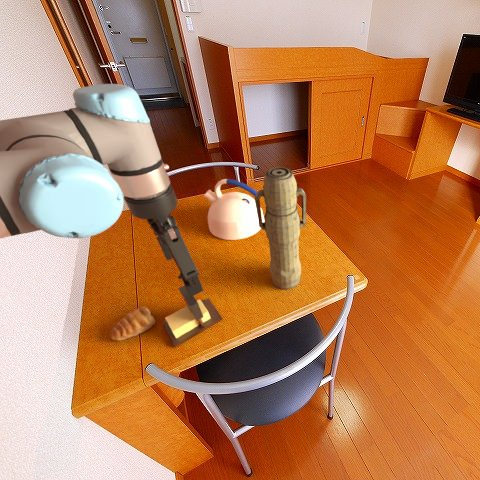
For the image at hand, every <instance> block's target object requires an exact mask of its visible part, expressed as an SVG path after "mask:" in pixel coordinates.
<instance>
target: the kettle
mask: <svg viewBox="0 0 480 480" xmlns="http://www.w3.org/2000/svg"><path fill="white" fill-rule="evenodd" d="M225 184H227V185H232V186H235V187H238V188H241V189H243V190H245V191H246V192H248V193H250V194H251V195H252V196H253V197H255V196H256V194H257V193H258V191H257V190H256V189H255V188H253V187H251V186H249V185H248V184H247V183H244V182H242V181H238V180H235V179H232V178H231V179H230V178H224V179H223V178H222V179H221V180H219V181H217V183H216V184H215V185H214V192H213V191H212V190H211V189H208V190H206V192H205V193H204V195H203V197H204V198H205V199H206V200H207V201H209V202H210V203H211V205H210V206H209V208H208V213H207V224H208V230H209V232H210V233H211V234H212V235H213V236H214V237H217V238H218V239H222V240H226V241H227V240H228V241H236V240H243V239H246V238H249V237H252V236H254V235H255V234H257V233H259V231H261V230H262V229H261V228H260V227H259V220H258V215H257V209H256V204H255V198H253V197H252V196H251V195H249V194H246V193H244V192H240V191H231V192H226V193H223V194H222V191H221V186H222V185H225ZM261 215H262V222H265V221H264V217H265V215H264V212H263V209H262V208H261Z"/></svg>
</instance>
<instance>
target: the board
mask: <svg viewBox="0 0 480 480" xmlns="http://www.w3.org/2000/svg"><path fill="white" fill-rule="evenodd" d="M201 302H202V303H203V305H204V306H205V308H206V309H207V311H208V313H209V315H210V318H211V319H209V320H207V321H205V322H204V323H203V324H204V326H203V327H202V325H201V324H200V325H198V326H197V327H195V328H193V329H192V330H190V331H188V332H186V333H185V334H183V335H181V336H180V337H178V338H176V337H175V336H174V334H173V332H172V330H171V328H170V326H169V324H168V323H167V321H166V320H165V321H164V322H162V324H163V326H164V328H165V330H166V332H167V334H168V337H169V338H170V340H171V342H172V344H173V346H174V348H177V347H179V346H181V345H182V344H184V343H186V342H188V341H189V340H191V339H192V338H194V337H196V336H197V335H199V334H200V333H202V332H204V331H206V330H207V329H209V328H211V327H212V326H214V325H216V324H218V323H219V322H221V321H222V320H223V317H222V315H221V314H220V312H219V311H218V309H217V308H216V307H215V305H214V304H213V302H212V301H211V300H210V298H209V297H208V298H206V299H205V300H201ZM199 323H200V322H199Z"/></svg>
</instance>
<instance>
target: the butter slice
mask: <svg viewBox="0 0 480 480" xmlns="http://www.w3.org/2000/svg"><path fill="white" fill-rule="evenodd" d="M196 301H197V302H198V304H199V307H200V309H201V312H202V314H203V316H204V317H203V318H201V319H202V322H203V323H204V322H205V321H207V320H209V319H211V318H210V315H209V313H208V311H207V309H206V308H205V306H204V305H203V303H202V300H201V299H200V298H199V299H196Z"/></svg>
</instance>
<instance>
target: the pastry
mask: <svg viewBox="0 0 480 480" xmlns="http://www.w3.org/2000/svg"><path fill="white" fill-rule="evenodd" d="M151 314H152V313H151V311H150V309H149V308H147V307H146V306H140V307H139V308H136V309H135V310H132V311H131V312H128V313H127V314H126V315H125V316H123V318H121V320H120V321H118V322H117V323H116V324H115V325H114V326H113V328H112V329H110V332H109V333H110V338H111V340H112V341H115V342H116V341H117V342H122V341H124V340H128V339H130V338H134V337H137V336H138V335H140V334H142V333H145V332H146V331H147V330H150V329H151V328H152V327H153V326H154V325H155V324H156V319H155V317H154V316H153V315H151Z"/></svg>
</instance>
